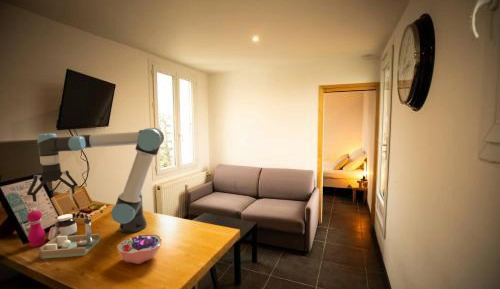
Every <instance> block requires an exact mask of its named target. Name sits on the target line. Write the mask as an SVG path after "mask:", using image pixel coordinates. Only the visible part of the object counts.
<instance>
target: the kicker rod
mask: <svg viewBox="0 0 500 289" xmlns="http://www.w3.org/2000/svg"><path fill="white" fill-rule="evenodd" d="M83 223H84V230H85V231H84V232H85V235H86V240H83V239H81V240H79V241H78V242H77V247H87V246H93V245H94V244H95V239H93V240H92V234H93V233H92V226H91V224H92V218H90V217H86V218H84V220H83Z"/></svg>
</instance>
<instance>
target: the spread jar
mask: <svg viewBox="0 0 500 289" xmlns="http://www.w3.org/2000/svg"><path fill="white" fill-rule="evenodd" d="M77 232H78V228H77V221H76V219H75V218H74V217H73V214H72V213H66V214H63V215H59V216H57V221H56V222H55V224H54V226H52V227H50V229H49V232H48V236H47V237H48V240H49V241H51V240H52V239H54V238H55V237H56V236H58V235H59V234H62V236H74V235H76V233H77Z"/></svg>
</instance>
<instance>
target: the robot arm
mask: <svg viewBox="0 0 500 289" xmlns="http://www.w3.org/2000/svg"><path fill="white" fill-rule="evenodd" d="M36 138H37V145H38V146H37V147H38V153H39V160H40V164H41V165H40V168H41V169H40V170H41V174H34V175H33V180H32V182H31V184H30V186H29V188H28V189H27V192H26V195H27V196H31V197H32V201H33V202H34V203H36V207H37V209H39V208H40V202H39V195H38V193H39V192H40V190H41V189H42V188H43V187H44V185H46V184H47V183H51V182H58V181H60V182H62V183H63V184H65V185H67V186H68V187H69V188H68V191H69V200H70V201H73V200H74V198H73V195H74V194H75V188H76V187H79V186H78V185H79V184H78V183H77V182H76V180H75V179H74V178H73V177H72V176H71V175H70V172H69V170H68V169H67V170H63V171H62V169H61V163H60V162H61V160H60V154H59V153H61V152H73V151H74V152H77V151H78V152H79V151H84V149H89V148H90V149H91V148H105V147H120V146H123V147H124V146H134V145H135V148H134V149H135V151H136V154H135V157H134V161H133V162H132V166H131V169H130V172H129V175H128V178H127V180H126V183H125V186H124V188H123V191H122V192H121V193H120V194H119V195H118V196H117V199H116V203H115V205H114V206H113V207H112V208H111V211H110V215H111V218H112V220H113V221H114V222H115V223H118V224H119V227H118V228H119V232H121V233H122V234H131V233H137V232H140V231H143V230H144V229H145V228H146V227H147V225H148V224H147V223H148V222H147V219H146V218H145V215H144V209H143V208H144V207H143V206H144V205H143V194H142V190H143V186H144V184H145V181H146V179H147V175H148V172H149V170H150V167H151V164H152V161H153V158H154V157H156V156H157V155H158V153H159V150H160V147H161V145H162V144H163V143H164V138H165V136H164V134H163V132H162V131H161V129H159V128H156V127H149V128H148V127H147V128H144V129H139V130H138V131H132V132H131V131H130V132H129V131H128V132H114V133H113V132H111V133H95V134H94V133H93V134H80V135H79V134H78V135H72V136H70V135H69V136H57V134H56V133H39V134H38V135H37V137H36ZM63 175H65V176H66V177H67V178H68V179H69V181H70V182H69V181H67V180H65V179H64V178H63V177H62V176H63ZM40 178H42V179H43V180H42V181H41V182H40V183H39V184H38V186H37V187H36V188H35V186H36V184H37V183H38V180H39V179H40ZM71 183H72V184H71ZM34 188H35V189H34ZM33 190H34V191H33Z"/></svg>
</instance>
